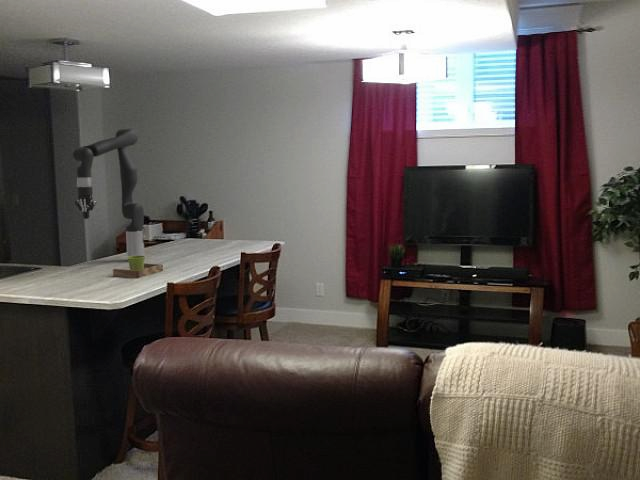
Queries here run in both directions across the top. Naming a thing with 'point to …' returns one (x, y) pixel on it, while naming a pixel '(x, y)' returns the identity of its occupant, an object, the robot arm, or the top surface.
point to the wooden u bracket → (139, 271)
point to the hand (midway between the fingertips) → (86, 218)
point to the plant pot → (136, 262)
